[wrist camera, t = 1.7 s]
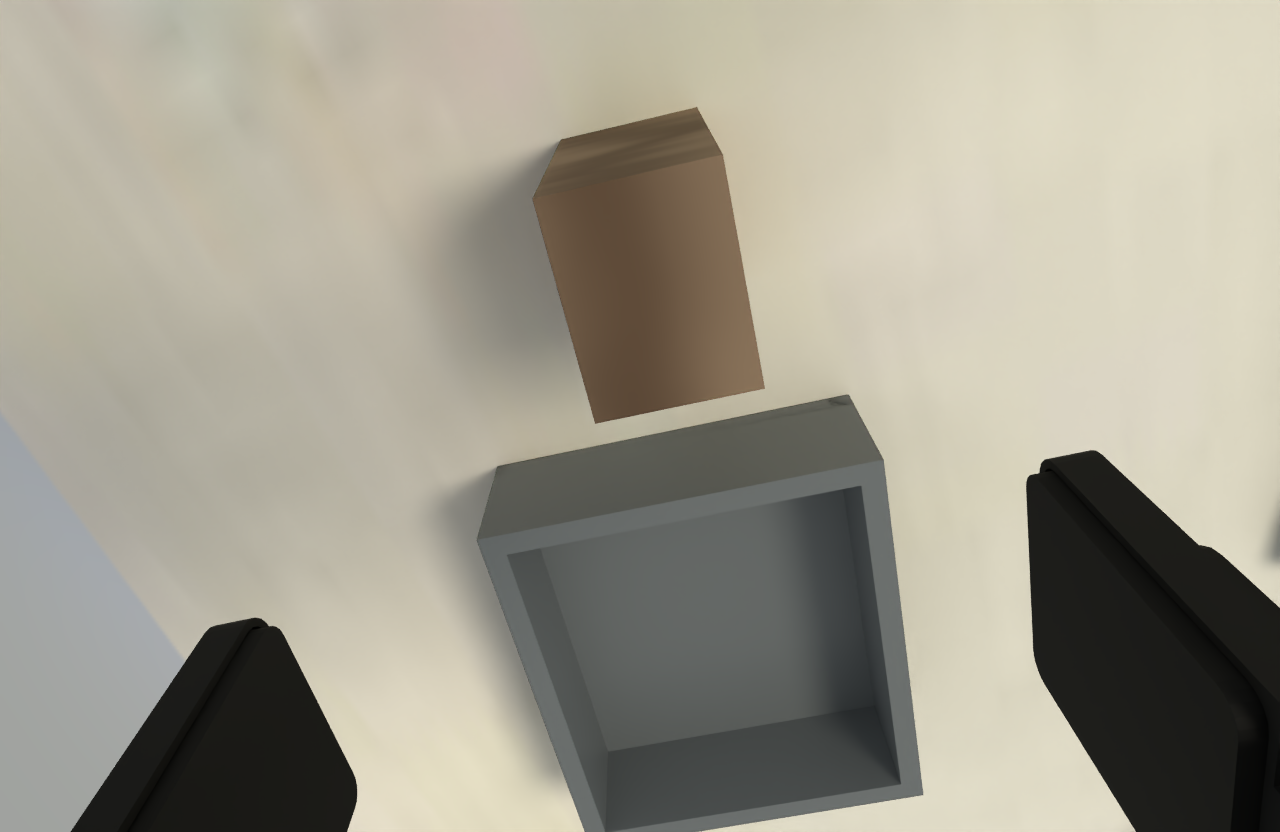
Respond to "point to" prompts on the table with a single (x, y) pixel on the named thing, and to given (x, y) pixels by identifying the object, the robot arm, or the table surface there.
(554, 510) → the bin
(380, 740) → the table surface
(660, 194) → the walnut block
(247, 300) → the table surface
